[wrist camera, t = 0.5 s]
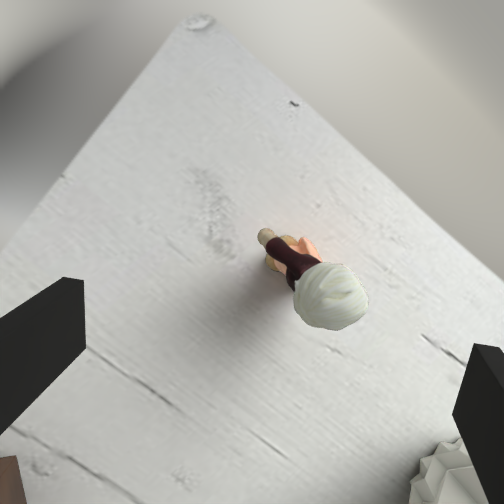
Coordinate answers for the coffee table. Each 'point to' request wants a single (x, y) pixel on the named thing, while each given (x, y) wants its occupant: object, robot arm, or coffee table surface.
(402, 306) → the coffee table surface
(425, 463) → the vase
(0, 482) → the walnut block
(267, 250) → the grandmother figurine
